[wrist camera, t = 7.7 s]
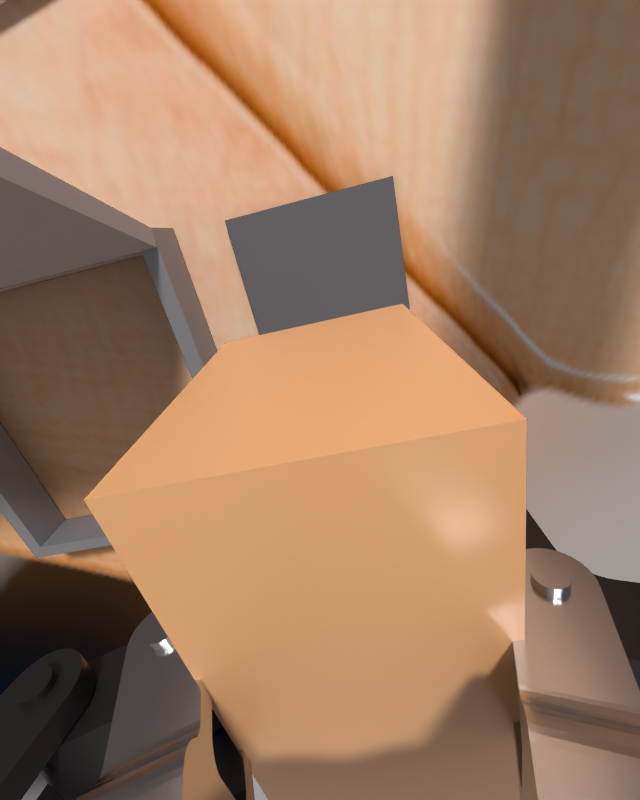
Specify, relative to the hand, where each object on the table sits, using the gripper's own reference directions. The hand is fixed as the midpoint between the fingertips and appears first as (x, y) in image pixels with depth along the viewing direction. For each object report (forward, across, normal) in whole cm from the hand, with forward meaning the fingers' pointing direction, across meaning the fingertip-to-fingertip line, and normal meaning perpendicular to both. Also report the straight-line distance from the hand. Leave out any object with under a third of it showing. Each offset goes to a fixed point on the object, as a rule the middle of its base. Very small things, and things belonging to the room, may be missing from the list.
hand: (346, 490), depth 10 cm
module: (+1, 0, 0) cm, 1 cm away
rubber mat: (+12, 0, 0) cm, 12 cm away
